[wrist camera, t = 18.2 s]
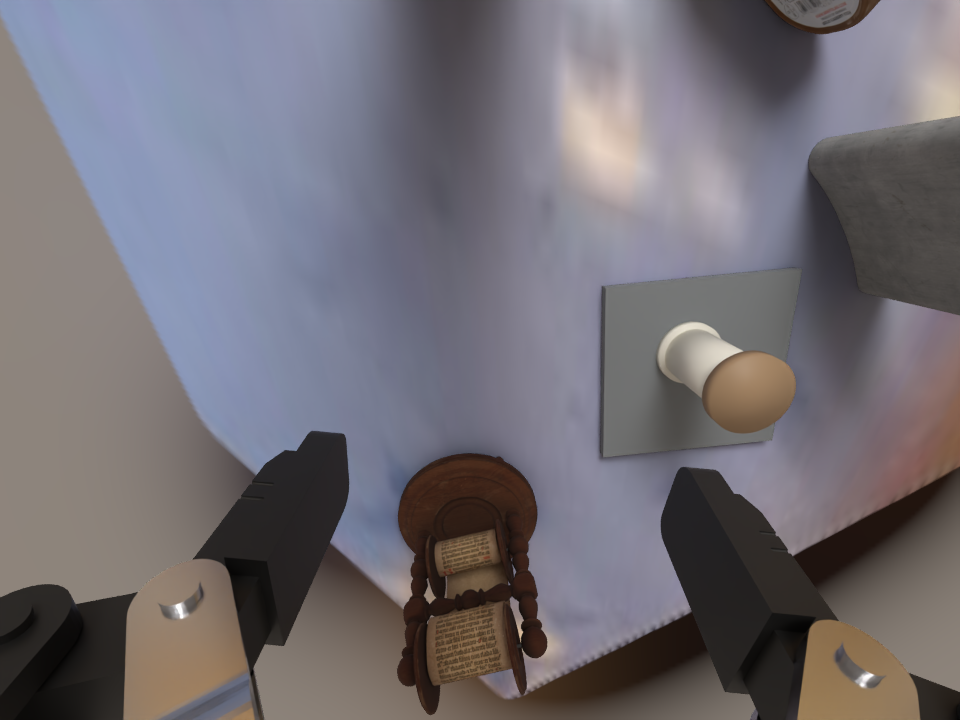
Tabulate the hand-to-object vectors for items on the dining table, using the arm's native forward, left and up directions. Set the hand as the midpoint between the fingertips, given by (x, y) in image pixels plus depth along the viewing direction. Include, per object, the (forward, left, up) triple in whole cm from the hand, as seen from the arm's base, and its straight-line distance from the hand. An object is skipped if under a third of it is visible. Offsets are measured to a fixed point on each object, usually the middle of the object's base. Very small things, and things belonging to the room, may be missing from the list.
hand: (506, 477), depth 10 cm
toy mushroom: (+9, +20, -29) cm, 37 cm away
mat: (+11, +21, -31) cm, 39 cm away
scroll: (+25, -3, -31) cm, 40 cm away
